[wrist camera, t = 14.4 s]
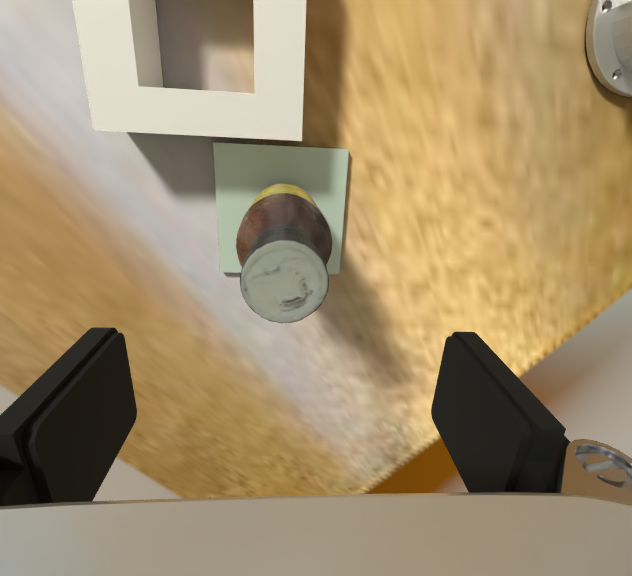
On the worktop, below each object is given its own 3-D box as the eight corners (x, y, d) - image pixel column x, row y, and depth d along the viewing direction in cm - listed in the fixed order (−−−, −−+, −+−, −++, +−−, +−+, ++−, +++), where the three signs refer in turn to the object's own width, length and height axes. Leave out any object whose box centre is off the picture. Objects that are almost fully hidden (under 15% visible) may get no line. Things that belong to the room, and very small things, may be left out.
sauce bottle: (309, 251, 37) (336, 365, 18) (246, 240, 36) (206, 348, 17) (323, 184, 34) (369, 237, 16) (256, 171, 33) (222, 210, 15)
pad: (347, 149, 34) (348, 149, 33) (338, 271, 38) (339, 274, 38) (214, 142, 33) (213, 142, 32) (221, 269, 37) (219, 272, 37)
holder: (305, -73, 28) (310, -126, 22) (298, 140, 33) (301, 141, 28) (96, -95, 26) (46, -158, 21) (126, 131, 32) (93, 130, 26)
